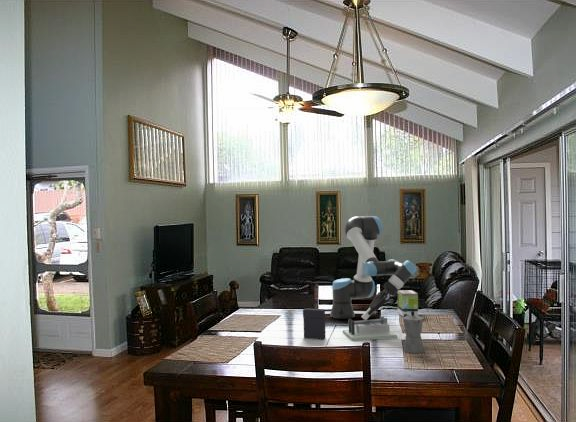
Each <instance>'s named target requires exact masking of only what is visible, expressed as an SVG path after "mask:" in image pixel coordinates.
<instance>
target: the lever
mask: <svg viewBox="0 0 576 422" xmlns="http://www.w3.org/2000/svg"><path fill="white" fill-rule="evenodd" d="M353 321H354V325H355V324H364V323H375V322H383V318H382V319H380V318H375V319H367V320H364V319H362V320H353Z"/></svg>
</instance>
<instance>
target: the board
mask: <svg viewBox="0 0 576 422" xmlns="http://www.w3.org/2000/svg"><path fill="white" fill-rule="evenodd" d="M342 334H343V335H345V336H346V337H347V338H348V339H349V340H350V341H353V342H355V341H371V340H385V339H387V340H388V339H389V340H390V339H398V334H396V333H395V332H393V331H392V330H390V334H382V335H365V336H359V335H357V334H356V333H355V335H351V333H349V329H342Z"/></svg>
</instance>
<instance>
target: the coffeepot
mask: <svg viewBox="0 0 576 422" xmlns="http://www.w3.org/2000/svg"><path fill="white" fill-rule="evenodd" d="M402 320H403V325H404V327H403V328H404V332H405V338H404V344H403V345H404V346H403V351H404V352H406V353H409V354H420V353H424V345H423V339H422V335H421V333H422V332H423V331H422V330H423V324H424V323H423V321H424V317H422V316H419V315H418V316H414V312H413V311H412V312H411V316H410V315H407V314H405V315H404V317H402Z"/></svg>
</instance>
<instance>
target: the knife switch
mask: <svg viewBox="0 0 576 422" xmlns="http://www.w3.org/2000/svg"><path fill="white" fill-rule="evenodd" d="M382 318H383V322H375V323H364V324H355V325H354V321H355V320H353V319H352V318H347V319H348V330H349V333H351V335H355V333H356V334H357V335H359V336H365V335H382V334H390V331H391V330H390V323H388V318H387V317H385V316H383V315H381V316H380V315H379V319H382Z"/></svg>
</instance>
